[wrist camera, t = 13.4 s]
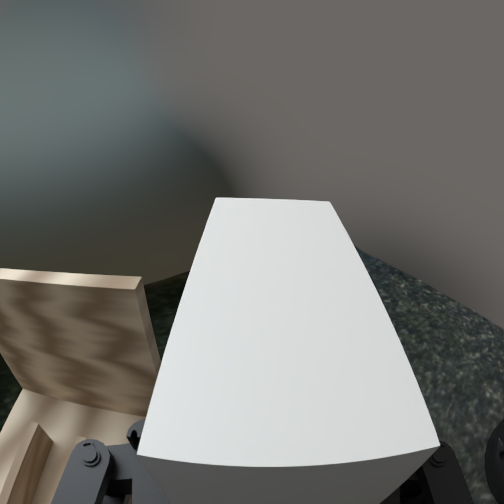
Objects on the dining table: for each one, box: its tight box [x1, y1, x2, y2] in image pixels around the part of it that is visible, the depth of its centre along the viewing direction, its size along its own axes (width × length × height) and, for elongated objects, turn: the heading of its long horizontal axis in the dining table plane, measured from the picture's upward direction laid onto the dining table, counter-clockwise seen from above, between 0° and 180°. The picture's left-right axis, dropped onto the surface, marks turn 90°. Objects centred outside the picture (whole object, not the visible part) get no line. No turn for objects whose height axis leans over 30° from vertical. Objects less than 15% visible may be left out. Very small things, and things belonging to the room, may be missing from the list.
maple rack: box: [0, 268, 161, 504], centre depth 16 cm, size 19×24×18 cm
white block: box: [137, 198, 440, 504], centre depth 10 cm, size 4×8×16 cm, turn 179°
